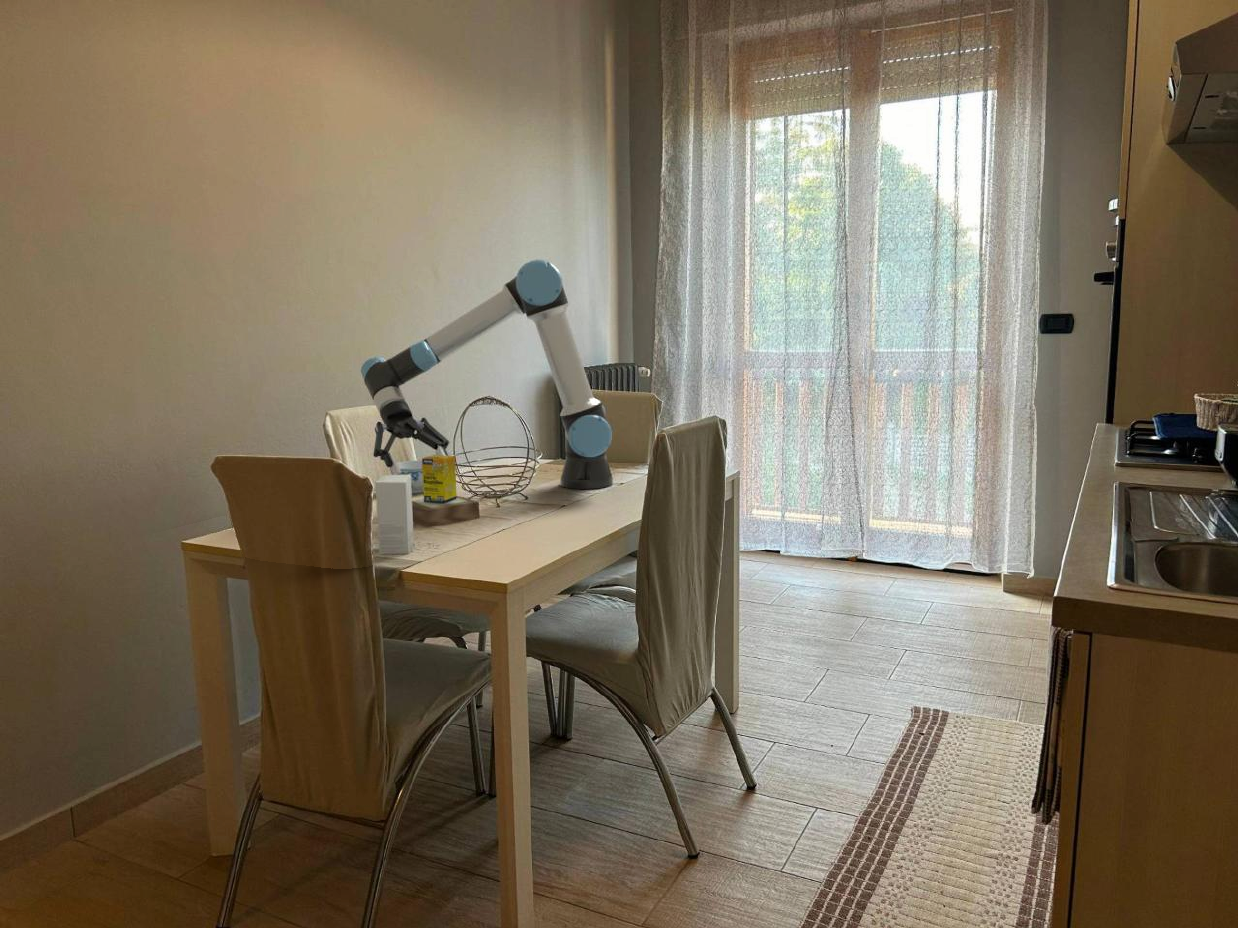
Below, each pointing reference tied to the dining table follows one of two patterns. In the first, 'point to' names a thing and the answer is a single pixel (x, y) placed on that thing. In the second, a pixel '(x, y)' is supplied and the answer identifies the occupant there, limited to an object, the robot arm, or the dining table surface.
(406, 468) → the chinaware
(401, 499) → the skincare box
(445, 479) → the supplement box
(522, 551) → the dining table surface
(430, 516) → the flat brown box
